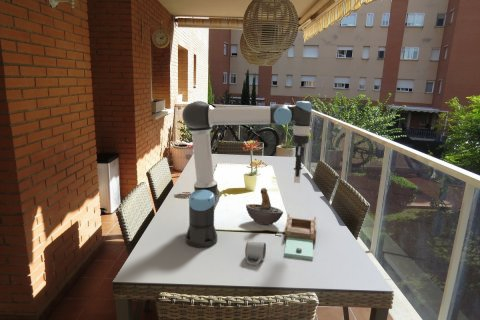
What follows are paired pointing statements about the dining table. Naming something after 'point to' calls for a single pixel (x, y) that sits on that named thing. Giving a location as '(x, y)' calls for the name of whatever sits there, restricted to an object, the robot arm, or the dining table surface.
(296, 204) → the dining table surface
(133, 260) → the dining table surface
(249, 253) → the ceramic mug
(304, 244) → the lid
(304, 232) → the box
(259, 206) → the planter
